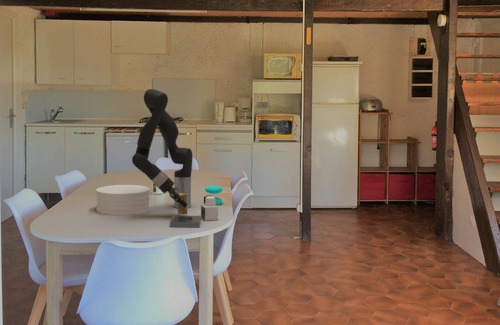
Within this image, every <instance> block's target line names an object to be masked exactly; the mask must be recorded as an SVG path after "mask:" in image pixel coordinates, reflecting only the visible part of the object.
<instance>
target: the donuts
mask: <svg viewBox="0 0 500 325" xmlns="http://www.w3.org/2000/svg"><path fill="white" fill-rule="evenodd" d="M204 192H206V193H207V194H211V195H217V194H220V193H222V192H223V187H221V186H219V185H208V186H206V187H204ZM215 197H216V204H215V205H216V206H220V205H221V204H222V203H223V200H222V199H221V198H220V197H217V196H215Z"/></svg>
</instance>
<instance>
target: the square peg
mask: <svg viewBox="0 0 500 325" xmlns="http://www.w3.org/2000/svg"><path fill="white" fill-rule="evenodd" d="M179 195H180V198H182V200H183V201H184V202H185V203H186V204H187V203H188V193H179ZM187 205H188V204H187ZM187 214H188V208H187V206H186V207H185V208H184V207H183V206H182V205H181V204H180V203H178V208H177V215H187Z"/></svg>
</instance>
